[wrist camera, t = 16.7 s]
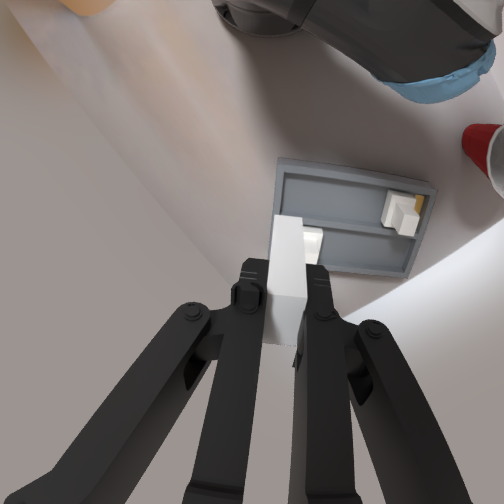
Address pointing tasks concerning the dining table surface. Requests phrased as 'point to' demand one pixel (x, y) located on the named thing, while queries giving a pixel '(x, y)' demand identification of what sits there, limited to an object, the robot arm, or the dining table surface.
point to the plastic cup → (487, 151)
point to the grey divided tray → (351, 215)
